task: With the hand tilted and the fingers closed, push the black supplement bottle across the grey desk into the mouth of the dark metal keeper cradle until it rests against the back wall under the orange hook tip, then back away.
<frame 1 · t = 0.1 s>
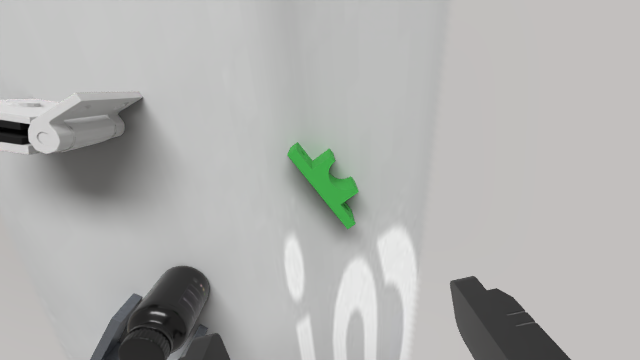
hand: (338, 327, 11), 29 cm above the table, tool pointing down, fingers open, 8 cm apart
pipe clamp: (329, 174, 40), on the table
supplement bottle: (187, 284, 44), on the table
keeper cradle: (157, 335, 46), on the table
hinge: (89, 111, 37), on the table
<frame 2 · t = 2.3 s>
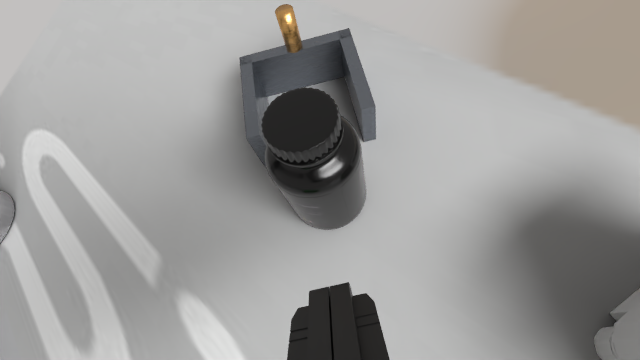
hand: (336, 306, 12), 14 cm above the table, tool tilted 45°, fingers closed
supplement bottle: (329, 197, 29), on the table
keeper cradle: (311, 113, 34), on the table
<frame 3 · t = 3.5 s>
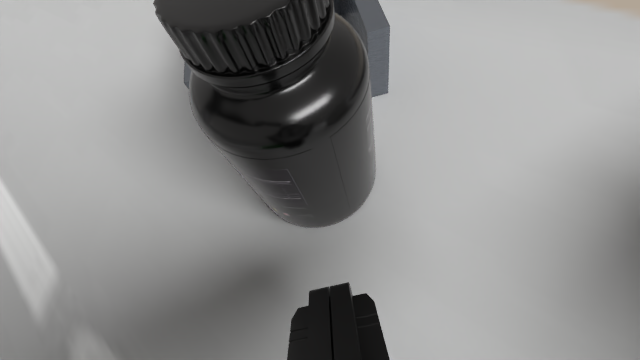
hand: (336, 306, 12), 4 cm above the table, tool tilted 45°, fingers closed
supplement bottle: (318, 178, 19), on the table
keeper cradle: (294, 63, 24), on the table
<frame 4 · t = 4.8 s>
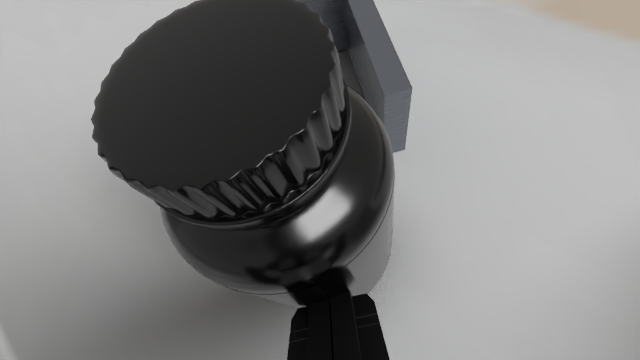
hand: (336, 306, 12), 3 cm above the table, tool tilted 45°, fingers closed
supplement bottle: (323, 244, 16), on the table, touching gripper
keeper cradle: (294, 108, 21), on the table
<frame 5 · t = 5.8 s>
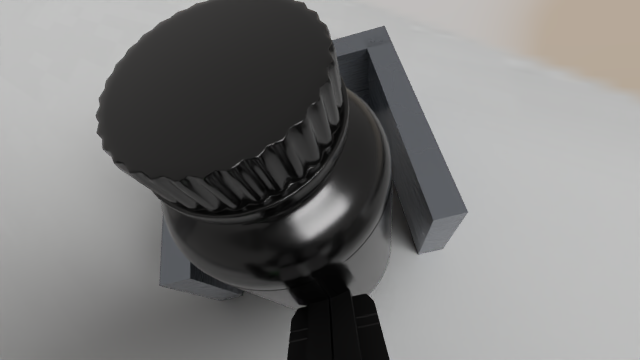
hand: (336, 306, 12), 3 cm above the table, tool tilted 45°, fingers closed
supplement bottle: (323, 246, 17), on the table, touching gripper
keeper cradle: (311, 187, 18), on the table
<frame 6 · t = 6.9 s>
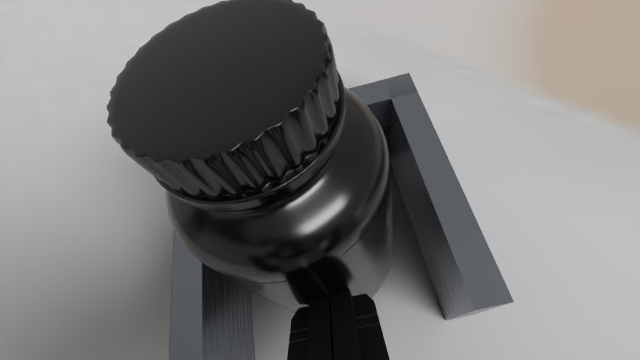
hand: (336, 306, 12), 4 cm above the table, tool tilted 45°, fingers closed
supplement bottle: (325, 251, 17), on the table, touching gripper
keeper cradle: (327, 238, 17), on the table
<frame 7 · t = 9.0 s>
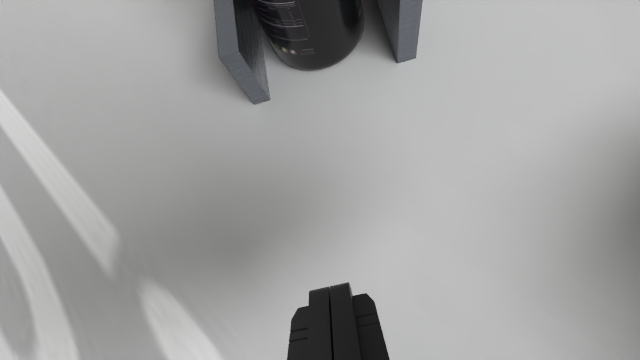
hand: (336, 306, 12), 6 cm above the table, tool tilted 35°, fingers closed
supplement bottle: (318, 37, 23), on the table
keeper cradle: (319, 26, 23), on the table
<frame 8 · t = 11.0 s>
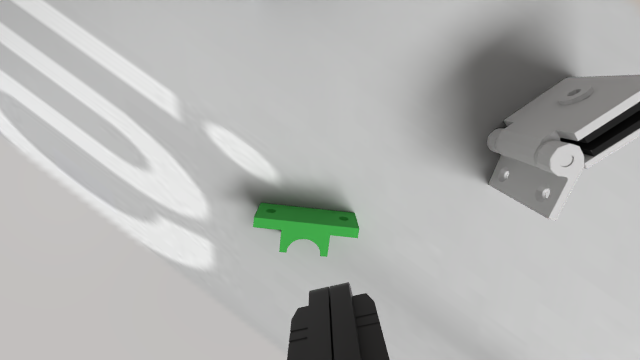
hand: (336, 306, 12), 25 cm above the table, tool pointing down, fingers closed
pipe clamp: (305, 220, 38), on the table
hinge: (525, 133, 35), on the table
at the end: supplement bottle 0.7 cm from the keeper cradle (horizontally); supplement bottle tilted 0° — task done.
